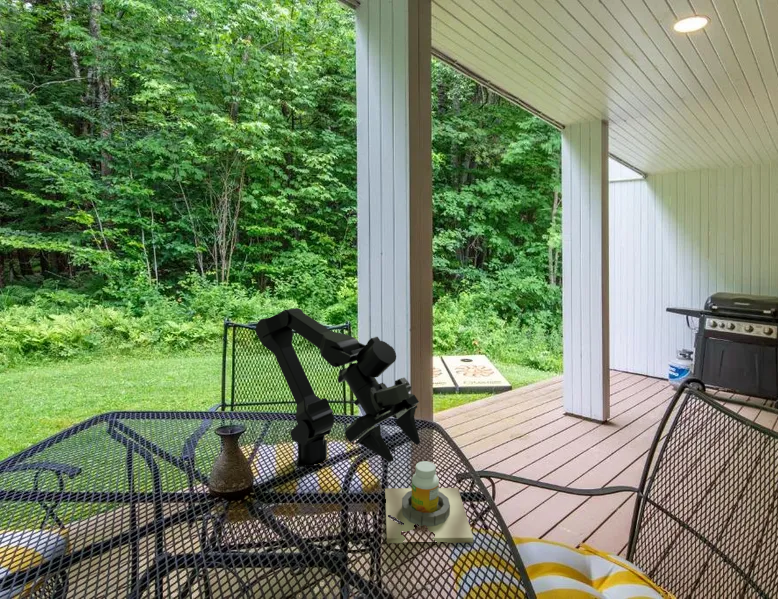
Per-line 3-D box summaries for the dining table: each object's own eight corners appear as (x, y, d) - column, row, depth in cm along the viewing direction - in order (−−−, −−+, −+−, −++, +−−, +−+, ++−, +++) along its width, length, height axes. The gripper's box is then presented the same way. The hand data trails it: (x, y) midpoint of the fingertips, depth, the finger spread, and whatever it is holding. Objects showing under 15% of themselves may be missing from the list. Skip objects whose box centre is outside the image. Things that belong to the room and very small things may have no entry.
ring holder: (386, 543, 83) (387, 528, 82) (385, 492, 98) (385, 480, 98) (473, 542, 83) (473, 527, 83) (457, 492, 99) (458, 479, 98)
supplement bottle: (405, 509, 91) (406, 465, 89) (424, 499, 94) (425, 456, 93) (424, 522, 87) (425, 476, 85) (443, 511, 90) (444, 467, 89)
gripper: (356, 380, 85) (401, 453, 80) (413, 358, 100) (454, 419, 95) (327, 408, 91) (367, 477, 86) (385, 384, 106) (422, 442, 101)
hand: (405, 452), depth 92 cm, fingers open, 9 cm apart
